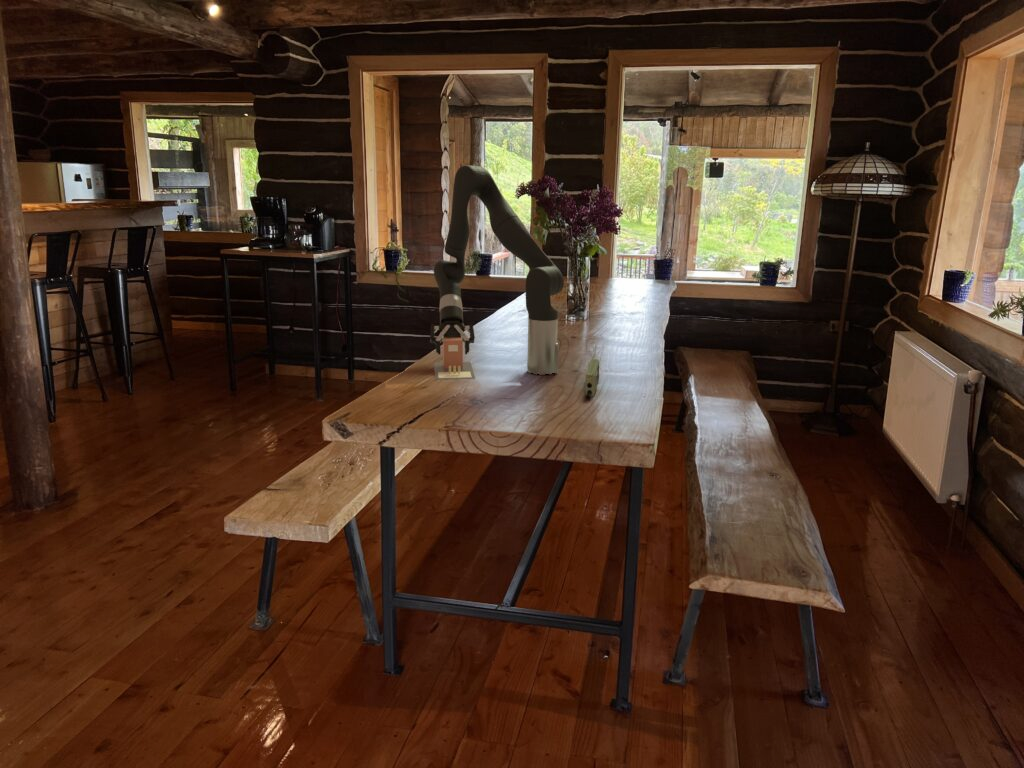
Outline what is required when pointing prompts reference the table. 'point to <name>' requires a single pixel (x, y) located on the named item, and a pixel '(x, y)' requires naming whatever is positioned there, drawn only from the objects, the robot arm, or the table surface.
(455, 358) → the block
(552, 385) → the table surface
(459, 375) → the pin board
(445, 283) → the robot arm
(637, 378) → the table surface
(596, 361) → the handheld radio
